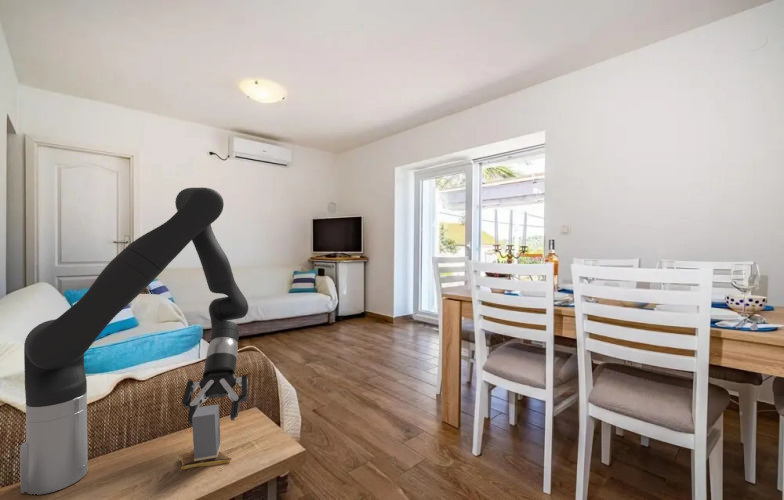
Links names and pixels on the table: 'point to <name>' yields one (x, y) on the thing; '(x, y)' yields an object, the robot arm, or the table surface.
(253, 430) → the table surface
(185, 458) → the shard
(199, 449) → the sanding block
